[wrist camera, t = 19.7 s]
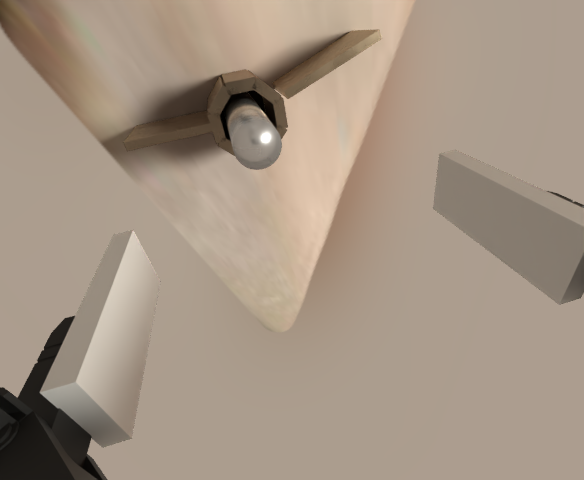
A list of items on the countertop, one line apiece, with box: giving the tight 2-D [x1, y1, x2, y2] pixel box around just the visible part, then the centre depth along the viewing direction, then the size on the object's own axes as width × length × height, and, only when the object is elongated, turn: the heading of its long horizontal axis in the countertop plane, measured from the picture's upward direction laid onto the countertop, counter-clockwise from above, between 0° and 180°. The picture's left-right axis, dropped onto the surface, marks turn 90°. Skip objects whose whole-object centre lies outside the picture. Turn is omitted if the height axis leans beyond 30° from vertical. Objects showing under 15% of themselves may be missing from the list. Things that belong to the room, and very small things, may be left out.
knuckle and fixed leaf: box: [123, 69, 288, 156], centre depth 32 cm, size 7×15×8 cm, turn 99°
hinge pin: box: [223, 92, 282, 170], centre depth 29 cm, size 4×4×15 cm
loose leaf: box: [272, 30, 382, 99], centre depth 32 cm, size 10×1×6 cm, turn 119°
